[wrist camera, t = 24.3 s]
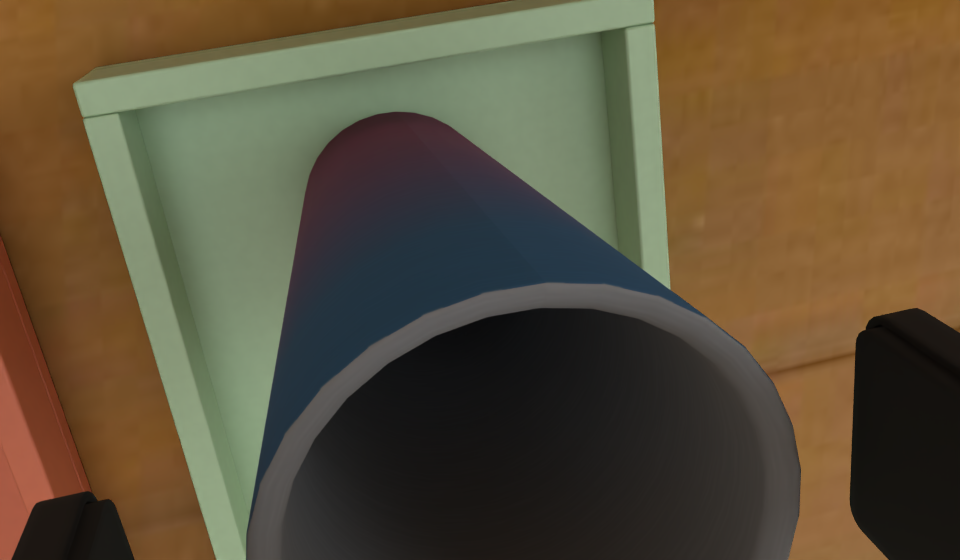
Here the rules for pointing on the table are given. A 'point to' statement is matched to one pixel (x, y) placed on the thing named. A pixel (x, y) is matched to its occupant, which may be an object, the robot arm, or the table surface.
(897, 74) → the table surface
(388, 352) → the cup
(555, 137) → the sage tray
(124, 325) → the table surface
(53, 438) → the terracotta tray
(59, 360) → the table surface
